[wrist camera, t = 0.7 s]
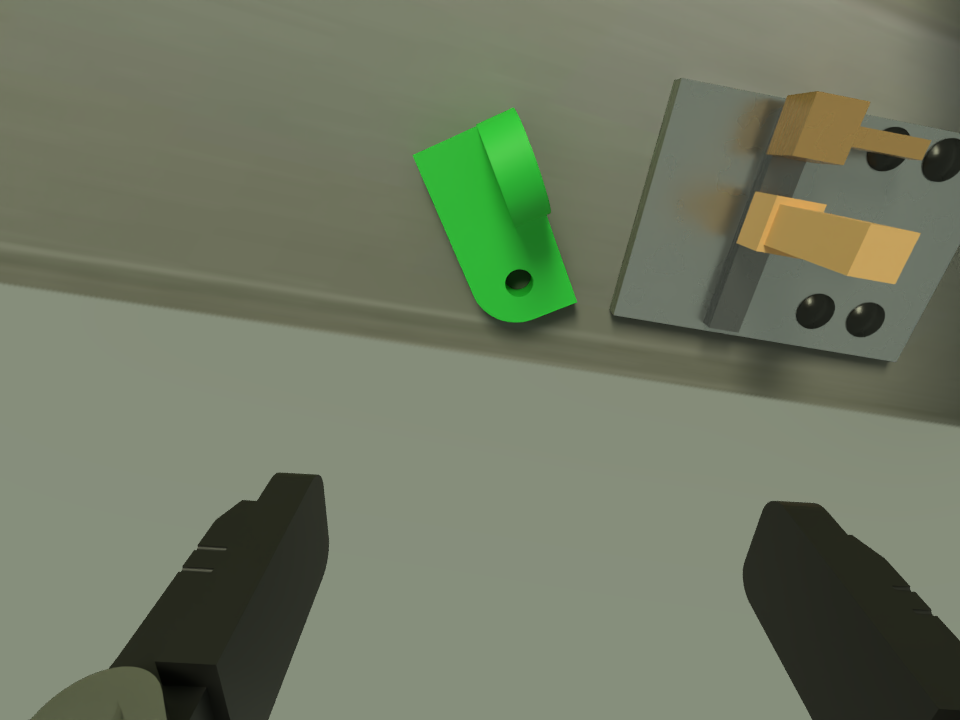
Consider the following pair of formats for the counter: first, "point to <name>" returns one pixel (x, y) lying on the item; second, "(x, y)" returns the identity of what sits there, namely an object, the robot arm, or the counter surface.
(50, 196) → the counter surface
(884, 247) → the leg
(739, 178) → the plate
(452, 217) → the mechanical part
